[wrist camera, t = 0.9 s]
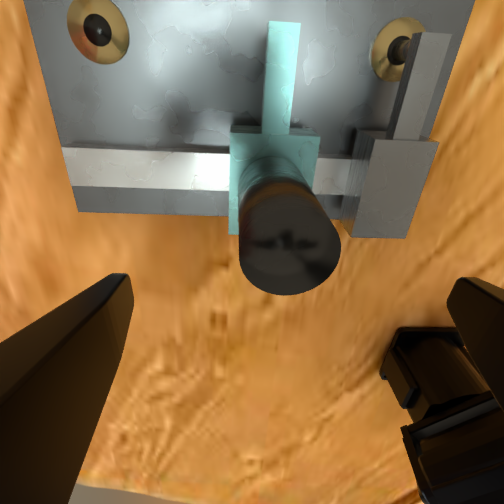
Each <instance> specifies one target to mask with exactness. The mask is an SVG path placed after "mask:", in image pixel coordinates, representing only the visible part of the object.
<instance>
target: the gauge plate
mask: <svg viewBox="0 0 504 504" xmlns="http://www.w3.org/2000/svg"><path fill="white" fill-rule="evenodd" d="M474 2H475V0H24V4H25V8H26V12H27V16H28V20H29V24H30V27H31V31H32V35H33V39H34V43H35V47H36V51H37V54H38V58H39V62H40V66H41V70H42V74H43V77H44V81H45V85H46V89H47V93H48V97H49V101H50V104H51V108H52V112H53V116H54V120H55V124H56V128H57V131H58V135H59V139H60V143H61V149H62V153H63V156H64V160H65V164H66V168H67V172H68V176H69V179H70V183H71V186H72V189H73V193H74V197H75V201H76V205H77V208H78V212H97V213H132V214H167V215H202V216H229V169H230V126H231V125H246V126H261V115H262V99H263V83H264V68H265V52H266V36H267V23H268V22H269V21H279V22H293V23H301V26H300V35H299V44H298V53H297V63H296V72H295V81H294V90H293V99H292V108H291V118H290V127H289V128H307V129H312V130H313V131H314V132H316V133H317V134H318V135H319V136H320V144H319V150H318V156H317V162H316V169H315V175H314V181H313V187H312V191H313V193H314V194H315V196H316V198H317V199H318V201H319V203H320V204H321V206H322V208H323V209H324V211H325V212H326V214H327V216H328V217H329V219H339V220H340V222H341V223H342V225H343V226H344V228H345V229H346V231H347V232H348V234H349V235H350V237H359V238H400V239H405V238H406V235H407V232H408V229H409V226H410V224H411V221H412V218H413V215H414V212H415V209H416V207H417V204H418V201H419V198H420V195H421V193H422V190H423V187H424V184H425V181H426V179H427V176H428V173H429V170H430V167H431V164H432V162H433V159H434V156H435V153H436V150H437V148H438V145H439V142H437V141H434V140H432V139H429V136H430V133H431V130H432V127H433V124H434V121H435V118H436V115H437V112H438V109H439V106H440V103H441V100H442V98H443V95H444V92H445V89H446V86H447V83H448V80H449V77H450V74H451V71H452V68H453V65H454V62H455V59H456V56H457V53H458V50H459V47H460V44H461V41H462V38H463V35H464V32H465V29H466V26H467V23H468V20H469V17H470V14H471V11H472V8H473V5H474Z"/></svg>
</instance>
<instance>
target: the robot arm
mask: <svg viewBox="0 0 504 504" xmlns="http://www.w3.org/2000/svg"><path fill="white" fill-rule="evenodd" d="M133 307H134V296H133V291H132V285H131V280H130V277H129V275H128V274H126V273H112V274H110V275H108V276H106V277H105V278H103V279H102V280H100V281H98V282H97V283H95V284H94V285H92V286H90V287H89V288H87V289H86V290H84V291H82V292H81V293H79V294H78V295H76V296H74V297H73V298H71V299H70V300H68V301H66V302H65V303H63V304H62V305H60V306H58V307H57V308H55V309H54V310H52V311H50V312H49V313H47V314H46V315H44V316H42V317H41V318H39V319H38V320H36V321H34V322H33V323H31V324H30V325H28V326H26V327H25V328H23V329H22V330H20V331H18V332H17V333H15V334H14V335H12V336H10V337H9V338H7V339H6V340H4V341H2V342H1V343H0V504H68V502H69V499H70V496H71V494H72V491H73V488H74V486H75V483H76V480H77V478H78V475H79V472H80V470H81V467H82V464H83V461H84V459H85V456H86V453H87V451H88V448H89V445H90V442H91V440H92V437H93V434H94V432H95V429H96V426H97V423H98V421H99V418H100V415H101V413H102V410H103V407H104V404H105V402H106V399H107V396H108V394H109V391H110V388H111V385H112V383H113V380H114V377H115V375H116V372H117V369H118V366H119V363H120V360H121V357H122V353H123V350H124V345H125V341H126V337H127V333H128V329H129V324H130V320H131V316H132V312H133ZM447 308H448V311H449V313H450V315H451V317H452V319H453V321H454V323H455V325H456V327H457V328H401V329H399V330H398V331H397V332H396V334H395V337H394V339H393V342H392V344H391V346H390V349H389V351H388V354H387V356H386V358H385V361H384V363H383V366H382V368H381V371H380V373H379V374H380V377H381V379H383V380H388V382H389V384H390V386H391V388H392V390H393V392H394V394H395V396H396V398H397V400H398V402H399V404H400V406H401V407H402V408H403V409H407V411H408V413H409V415H410V417H411V419H412V421H413V424H410V425H408V426H407V425H405V426H402V427H400V429H401V432H402V435H403V438H402V439H403V442H404V445H405V448H406V451H407V454H408V457H409V460H410V463H411V466H412V468H413V471H414V474H415V477H416V482H417V487H418V492H419V496H420V498H421V500H422V501H423V503H424V504H504V289H502V288H500V287H497V286H495V285H493V284H490V283H488V282H486V281H483V280H481V279H479V278H475V277H461V278H459V279H458V280H457V281H456V282H455V284H454V286H453V289H452V291H451V293H450V295H449V297H448V299H447ZM464 345H465V346H466V349H467V350H468V352H469V353H468V352H467V350H466V349H465V348H464V347H463V346H464Z"/></svg>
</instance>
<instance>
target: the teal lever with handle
mask: <svg viewBox="0 0 504 504" xmlns="http://www.w3.org/2000/svg"><path fill="white" fill-rule="evenodd" d="M300 26H301V23H293V22H279V21H269V22H268V23H267V36H266V52H265V68H264V83H263V99H262V115H261V126H246V125H231V126H230V169H229V234H236V235H239V261H240V266H241V269H242V271H243V273H244V275H245V276H246V278H247V279H248V280H249V281H250V282H251V283H252V284H253V285H254V286H256V287H257V288H259V289H261V290H263V291H265V292H267V293H271V294H276V295H295V294H300V293H304V292H306V291H309V290H311V289H313V288H315V287H317V286H318V285H320V284H321V283H323V282H324V281H325V280H326V279H327V278H328V277H329V276H330V275H331V274H332V272H333V271H334V269H335V268H336V266H337V264H338V261H339V258H340V253H341V243H340V238H339V235H338V233H337V231H336V229H335V227H334V226H333V224H332V222H331V221H330V219H329V217H328V216H327V214H326V212H325V211H324V209H323V208H322V206H321V204H320V203H319V201H318V199H317V198H316V196H315V194H314V193H313V191H312V187H313V181H314V175H315V169H316V162H317V156H318V150H319V144H320V136H319V135H318V134H317V133H316V132H314V131H313V130H312V129H307V128H289V127H290V118H291V108H292V99H293V90H294V81H295V72H296V63H297V53H298V44H299V35H300Z"/></svg>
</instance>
